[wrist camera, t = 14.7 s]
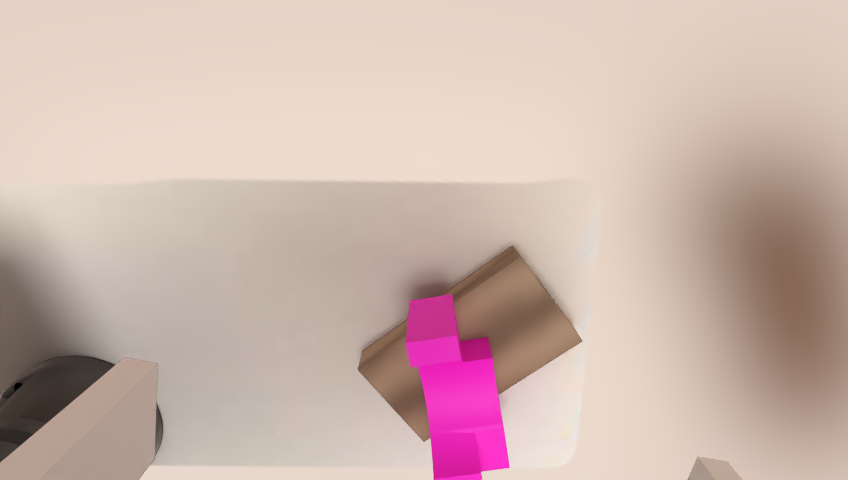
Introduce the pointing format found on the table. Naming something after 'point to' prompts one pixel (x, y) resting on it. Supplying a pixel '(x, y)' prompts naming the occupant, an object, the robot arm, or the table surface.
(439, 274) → the table surface
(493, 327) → the walnut base block
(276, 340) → the table surface
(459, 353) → the toy block
